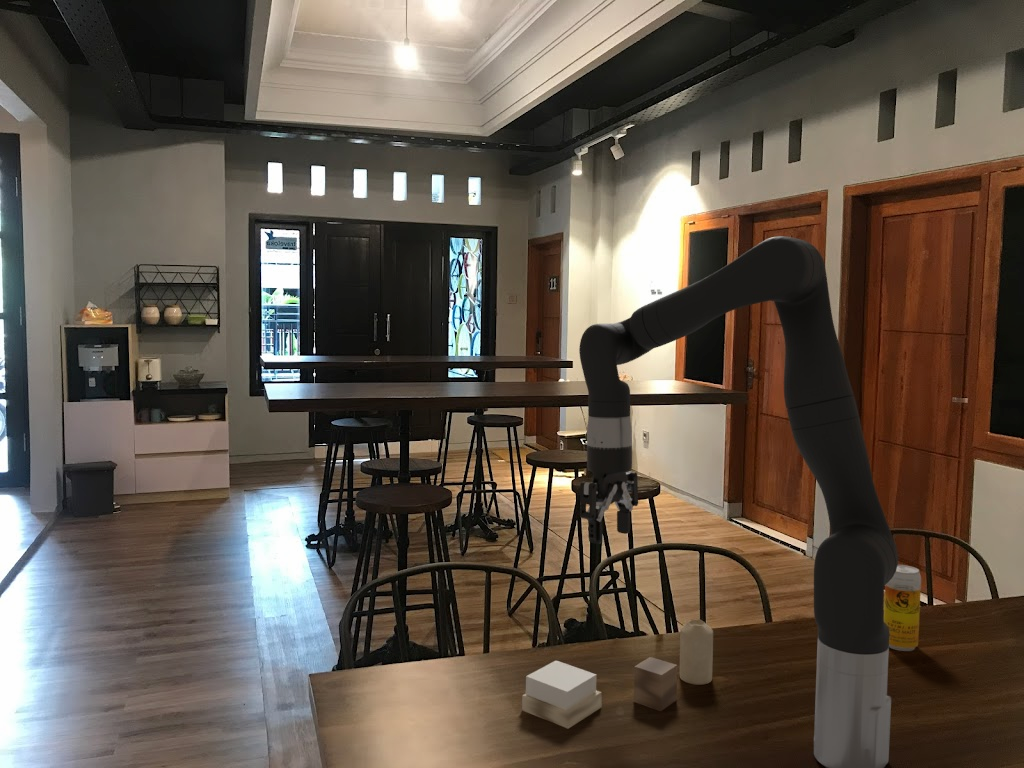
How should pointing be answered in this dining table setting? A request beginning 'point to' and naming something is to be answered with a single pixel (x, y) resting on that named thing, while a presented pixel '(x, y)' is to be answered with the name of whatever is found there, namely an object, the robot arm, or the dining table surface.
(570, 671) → the slab upper
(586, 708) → the slab lower
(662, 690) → the walnut block
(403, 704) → the dining table surface
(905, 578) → the beer can
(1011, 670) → the dining table surface
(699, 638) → the candle
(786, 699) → the dining table surface
